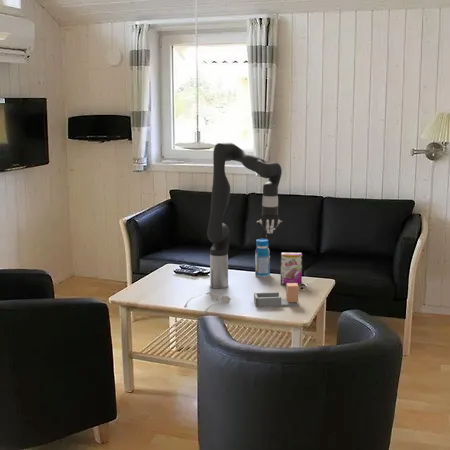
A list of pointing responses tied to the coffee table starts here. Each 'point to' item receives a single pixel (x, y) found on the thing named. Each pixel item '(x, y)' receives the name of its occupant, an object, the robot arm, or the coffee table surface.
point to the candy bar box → (291, 268)
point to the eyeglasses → (215, 297)
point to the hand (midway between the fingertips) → (269, 240)
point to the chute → (271, 300)
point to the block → (292, 292)
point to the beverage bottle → (262, 258)
